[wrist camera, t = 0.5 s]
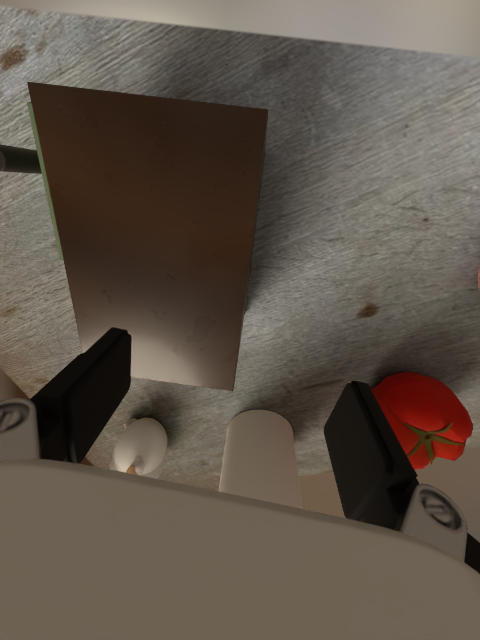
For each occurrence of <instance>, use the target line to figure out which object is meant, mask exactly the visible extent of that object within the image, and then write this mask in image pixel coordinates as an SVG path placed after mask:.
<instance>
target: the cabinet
mask: <svg viewBox="0 0 480 640" xmlns="http://www.w3.org/2000/svg"><path fill="white" fill-rule="evenodd" d="M27 83H28V88H29V93H30V98H31V103H32V108H33V113H34V118H35V122H36V127H37V132H38V137H39V142H40V147H41V152H42V157H43V162H44V166H45V171H46V176H47V181H48V186H49V191H50V196H51V201H52V205H53V210H54V215H55V220H56V225H57V230H58V235H59V240H60V245H61V249H62V254H63V259H64V264H65V269H66V274H67V279H68V284H69V289H70V293H71V298H72V303H73V308H74V313H75V318H76V323H77V328H78V332H79V337H80V342H81V347H82V352H83V353H84V352H86V351H87V350H88V349H89V348H90V347H91V346H92V345H93V344H94V343H95V342H96V341H97V340H99V339H100V338H101V337H102V336H103V335H104V334H105V333H106V332H107V331H108V330H109V329H110V328H112V327H115V328H120V329H124V330H127V331H128V334H130V335H131V337H132V342H131V377H135V378H142V379H149V380H156V381H164V382H171V383H178V384H186V385H193V386H200V387H207V388H215V389H222V390H229V391H233V388H234V382H235V375H236V368H237V361H238V354H239V347H240V340H241V334H242V327H243V320H244V313H245V305H246V297H247V289H248V282H249V274H250V266H251V258H252V250H253V243H254V235H255V227H256V219H257V211H258V204H259V196H260V188H261V180H262V172H263V165H264V157H265V149H266V135H267V121H268V110H267V109H259V108H251V107H242V106H233V105H225V104H216V103H207V102H199V101H190V100H181V99H172V98H164V97H155V96H146V95H138V94H129V93H120V92H112V91H103V90H94V89H85V88H77V87H68V86H59V85H51V84H42V83H33V82H27Z"/></svg>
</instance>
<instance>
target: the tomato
mask: <svg viewBox="0 0 480 640" xmlns="http://www.w3.org/2000/svg"><path fill="white" fill-rule="evenodd" d="M371 390H372V392H373V394H374V396H375V398H376V399H377V401H378V403H379V405H380V407H381V409H382V411H383V412H384V414H385V416H386V418H387V420H388V422H389V424H390V425H391V427H392V429H393V431H394V433H395V435H396V437H397V438H398V440H399V442H400V444H401V446H402V448H403V450H404V451H405V453H406V455H407V457H408V459H409V461H410V463H411V465H412V466H413V468H414V470H415V469H423V468H424V467H425V466H427V465H428V464H429V463H430V462H431V464H432V461H433V460H434V459H435V458H436V457H441V458H445V459H449V460H453V461H455V460H456V459H457V458H459V457H460V456H461V455H462V454H463V451H464V447H465V443H466V440H467V438H468V437H470V436H471V434H472V430H473V424H472V421H471V419H470V416H469V414H468V411H467V410H466V409H465V407H464V406H463V405H462V403H461V402H460V401H459V399H458V398H457V397H456V396H455V394H454V393H453V392H452V391H451V390H450V389H449V388H448V387H447V386H445V385H444V384H443V383H442V382H440V381H438V380H436V379H434V378H432V377H429V376H424V375H421V374H417V373H414V372H403V373H396V374H393V375H391V376H388V377H386V378H385V379H384V380H383V381H382V382H381V383H380V384H379V385H377V386H375V387H374V388H372V389H371Z"/></svg>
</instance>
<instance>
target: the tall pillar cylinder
mask: <svg viewBox="0 0 480 640" xmlns="http://www.w3.org/2000/svg"><path fill="white" fill-rule="evenodd" d="M219 492H224V493H229V494H233V495H238V496H243V497H248V498H253V499H257V500H262V501H267V502H272V503H277V504H281V505H286V506H291V507H295V508H300V509H302V502H301V494H300V487H299V479H298V470H297V462H296V454H295V446H294V438H293V431H292V427H291V425H290V424H289V422H288V421H287V420H286V419H285V418H284V417H282V416H281V415H279V414H277V413H275V412H272V411H268V410H249V411H245V412H242V413H240V414H238V415H237V416H235V417H234V418H233V419H232V420H231V422H230V423H229V425H228V429H227V436H226V443H225V450H224V457H223V464H222V471H221V477H220V484H219Z"/></svg>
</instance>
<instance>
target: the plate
mask: <svg viewBox="0 0 480 640" xmlns="http://www.w3.org/2000/svg"><path fill="white" fill-rule="evenodd" d="M478 287H479V291H480V264H479V268H478Z"/></svg>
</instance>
